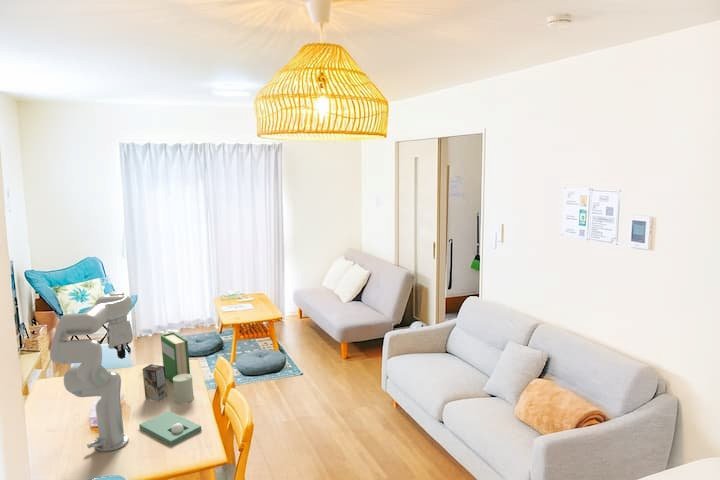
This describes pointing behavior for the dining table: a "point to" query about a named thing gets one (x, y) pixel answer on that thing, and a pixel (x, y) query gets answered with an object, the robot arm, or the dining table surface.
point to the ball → (177, 428)
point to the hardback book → (175, 355)
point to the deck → (169, 427)
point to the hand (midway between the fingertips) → (121, 357)
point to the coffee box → (154, 382)
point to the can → (183, 388)
